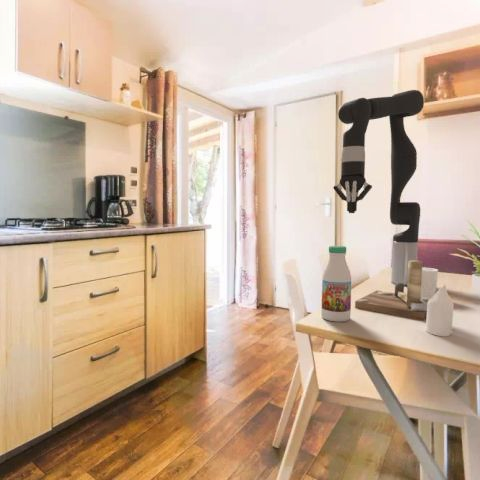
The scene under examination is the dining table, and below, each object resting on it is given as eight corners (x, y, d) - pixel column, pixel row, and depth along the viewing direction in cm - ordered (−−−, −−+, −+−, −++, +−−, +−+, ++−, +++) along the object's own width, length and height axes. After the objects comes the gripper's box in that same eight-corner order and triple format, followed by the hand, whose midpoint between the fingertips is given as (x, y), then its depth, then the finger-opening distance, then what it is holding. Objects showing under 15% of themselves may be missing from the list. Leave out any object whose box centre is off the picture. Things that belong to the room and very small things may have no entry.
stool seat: (376, 296, 120) (376, 289, 119) (438, 305, 107) (438, 299, 107) (355, 307, 105) (355, 300, 105) (423, 320, 93) (423, 312, 93)
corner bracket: (406, 306, 99) (406, 299, 99) (421, 306, 99) (421, 300, 99) (411, 310, 95) (412, 303, 95) (427, 311, 95) (428, 304, 94)
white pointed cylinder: (426, 280, 87) (451, 282, 85) (423, 327, 88) (448, 329, 86) (430, 285, 81) (457, 287, 79) (427, 334, 82) (454, 337, 80)
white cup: (440, 301, 113) (441, 271, 112) (414, 300, 114) (415, 270, 114) (431, 295, 121) (433, 267, 120) (407, 294, 122) (409, 266, 121)
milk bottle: (317, 314, 98) (319, 244, 97) (343, 313, 99) (345, 244, 97) (326, 322, 91) (328, 247, 89) (354, 322, 91) (357, 247, 90)
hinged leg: (392, 294, 112) (393, 255, 111) (403, 294, 111) (405, 255, 110) (409, 307, 97) (411, 262, 96) (422, 308, 96) (424, 262, 95)
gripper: (376, 161, 115) (374, 213, 116) (336, 164, 122) (335, 213, 123) (371, 158, 109) (369, 213, 110) (330, 161, 116) (329, 213, 117)
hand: (351, 213), depth 117 cm, fingers closed
